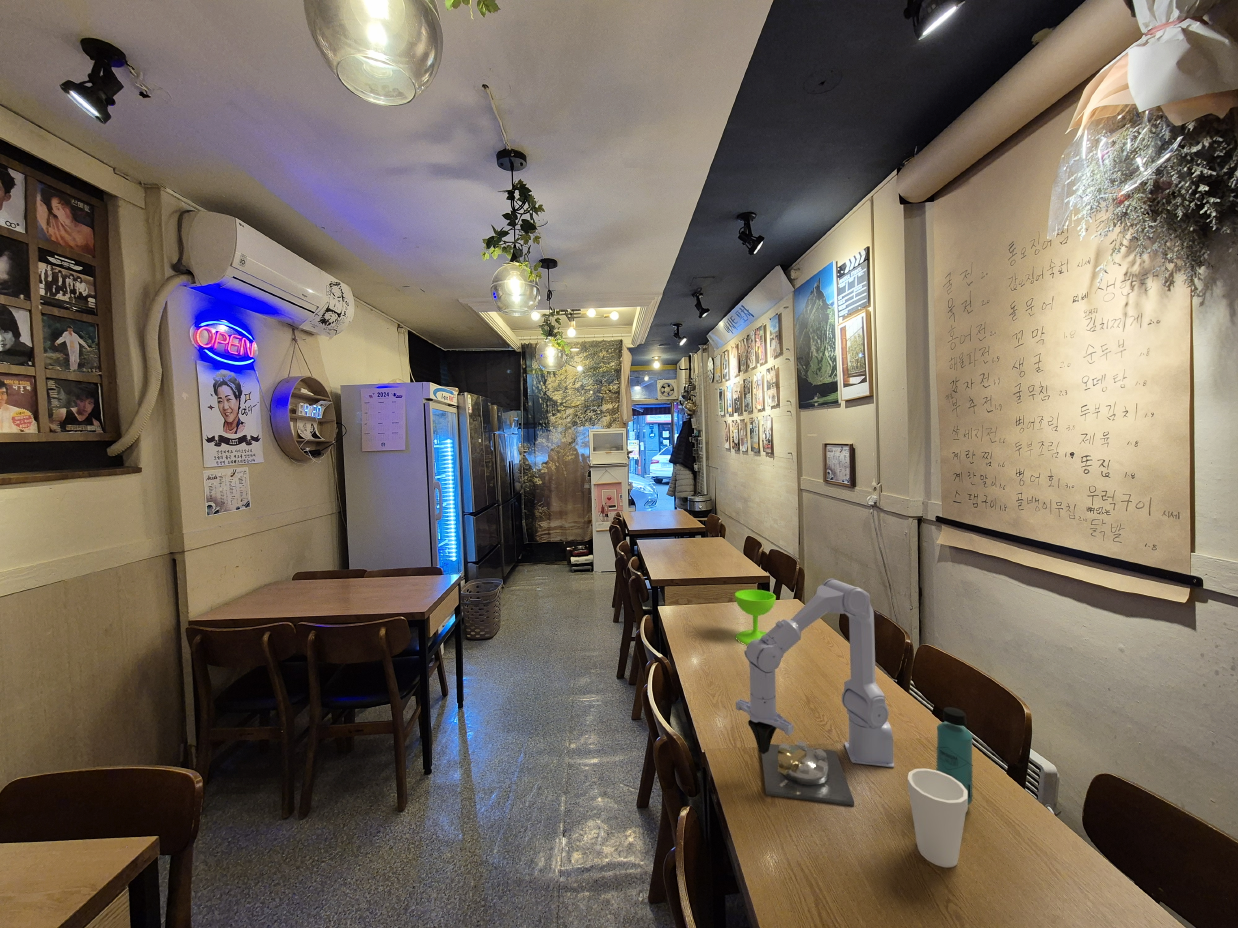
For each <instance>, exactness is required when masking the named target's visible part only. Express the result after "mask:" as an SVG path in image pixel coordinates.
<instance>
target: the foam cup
mask: <svg viewBox="0 0 1238 928" xmlns="http://www.w3.org/2000/svg"><path fill="white" fill-rule="evenodd" d="M936 770H937V769H936ZM936 770H935V769H931V768H914V769H913V770H911V771H909V772H908V775H907V791H908V794H909V801H910V806H911V814H912V820H913V826H914V828H913V829H914V834H915V840H916V845H917V849H918V851H919V853H920V854H921V856H923V857H924V858H925V859H926V860H927V861H928V862H930V863H932V864H934V865H936V866H939V867H942V868H954V867H955V866H957V865H958V861H959V857H960V851H961V844H962V840H963V839H962V838H963V833H964V832H963V831H964V825H965V819H966V813H967V812H968V808H969V807H968V806H969V805H968V791H967V790H966V789H965V787H964V786H963V785H962V783H960V782H959V781H957V780H956V779H954V778H953V777H951V776H949V775H947V774H944V773H942V772H940V771H936Z"/></svg>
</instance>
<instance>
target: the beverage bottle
mask: <svg viewBox="0 0 1238 928" xmlns="http://www.w3.org/2000/svg"><path fill="white" fill-rule="evenodd" d="M942 719H943V721H944V722H943V721H942V722H941V723H938V725H937V726H936V730H937V732H936V733H937V735H936V738H937V741H936V743H937V745H936V749H935V751H936V759H935V761H936V765H935V766H936V771H940V772H942V773H944V774H947V775H949V776H951V777H953V778H954V779H956V780H957V781H959V782H960V783H962V785H963V786H964V787H965V789H966V790H967V791H968V806H970V805H971V804H972V802H973V800H974V797H973V775H974V772H973V771H974V770H973V767H974V765H973V738H974V737H973V735H972V732H971V731H969V729H967V727H966V725H967V724H968V723H967V714H966V713H965V712H964V711H963V710H961V709H959V708H956V707H951V706H950V707H949V706H948V707H944V708H943V714H942Z"/></svg>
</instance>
